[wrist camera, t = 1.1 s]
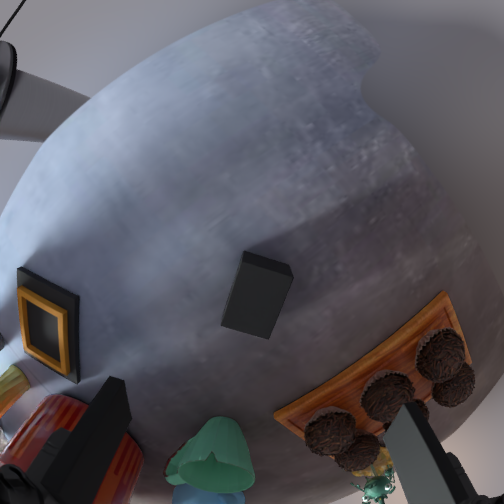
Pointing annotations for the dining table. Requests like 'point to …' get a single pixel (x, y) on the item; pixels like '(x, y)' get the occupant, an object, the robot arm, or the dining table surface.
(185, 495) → the teapot
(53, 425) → the planter
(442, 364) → the chocolate muffin tray
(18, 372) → the vase
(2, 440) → the decorative shell
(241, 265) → the black rectangular block
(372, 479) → the cartoon bug character
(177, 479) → the mug
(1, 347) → the bottle
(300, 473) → the dining table surface
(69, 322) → the base
